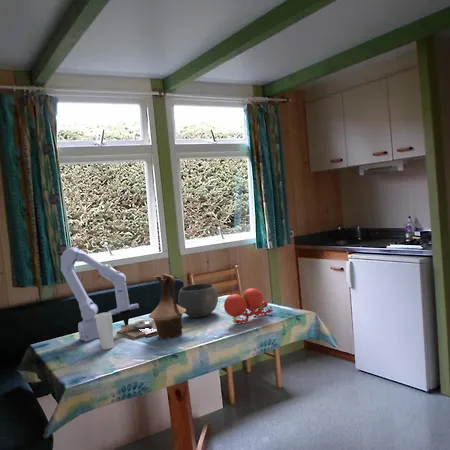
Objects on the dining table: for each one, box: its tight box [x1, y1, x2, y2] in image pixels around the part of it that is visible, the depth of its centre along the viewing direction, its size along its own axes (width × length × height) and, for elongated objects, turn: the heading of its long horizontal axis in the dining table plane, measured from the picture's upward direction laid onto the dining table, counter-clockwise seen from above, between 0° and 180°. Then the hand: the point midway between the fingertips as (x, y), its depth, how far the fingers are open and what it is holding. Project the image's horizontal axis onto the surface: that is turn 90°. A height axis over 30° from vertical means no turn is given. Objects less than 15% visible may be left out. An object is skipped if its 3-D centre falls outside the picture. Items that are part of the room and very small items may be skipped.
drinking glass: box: [95, 311, 115, 351], centre depth 200 cm, size 7×7×15 cm
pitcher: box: [148, 273, 186, 339], centre depth 207 cm, size 18×17×28 cm
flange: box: [120, 319, 153, 331], centre depth 220 cm, size 15×9×2 cm, turn 107°
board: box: [116, 319, 157, 340], centre depth 221 cm, size 20×17×2 cm
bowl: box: [177, 283, 219, 318], centre depth 234 cm, size 20×20×15 cm
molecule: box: [223, 287, 274, 325], centre depth 216 cm, size 25×11×15 cm, turn 131°
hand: (126, 326), depth 221 cm, fingers closed, pressing on flange
